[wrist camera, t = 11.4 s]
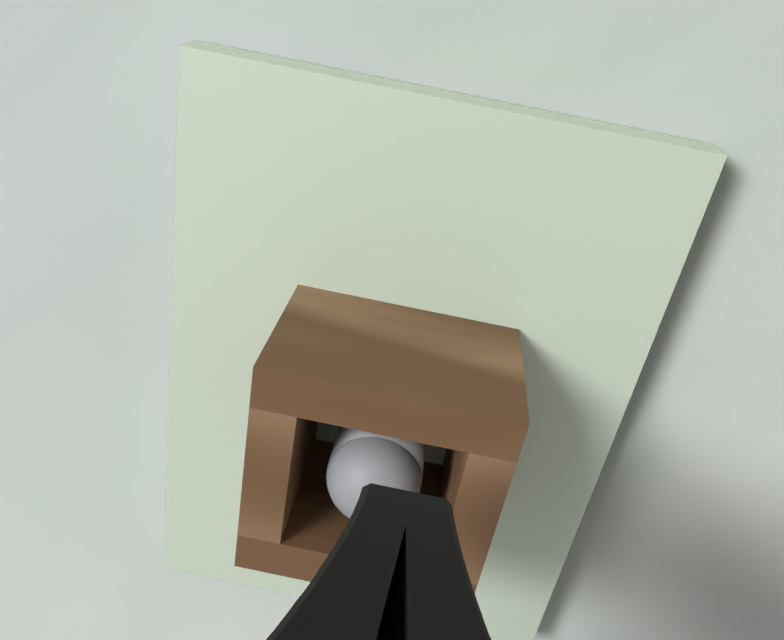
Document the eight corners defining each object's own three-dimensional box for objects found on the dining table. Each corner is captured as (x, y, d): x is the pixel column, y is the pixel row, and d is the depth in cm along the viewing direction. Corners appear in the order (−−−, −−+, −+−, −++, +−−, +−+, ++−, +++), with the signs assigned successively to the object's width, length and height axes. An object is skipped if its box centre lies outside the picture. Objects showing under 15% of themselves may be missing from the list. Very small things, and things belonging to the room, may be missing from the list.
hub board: (529, 620, 24) (540, 777, 19) (175, 545, 24) (104, 683, 19) (714, 144, 16) (805, 218, 12) (195, 40, 16) (87, 73, 12)
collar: (469, 499, 20) (467, 614, 17) (277, 459, 20) (234, 565, 17) (519, 329, 18) (529, 423, 14) (297, 284, 18) (253, 366, 14)
